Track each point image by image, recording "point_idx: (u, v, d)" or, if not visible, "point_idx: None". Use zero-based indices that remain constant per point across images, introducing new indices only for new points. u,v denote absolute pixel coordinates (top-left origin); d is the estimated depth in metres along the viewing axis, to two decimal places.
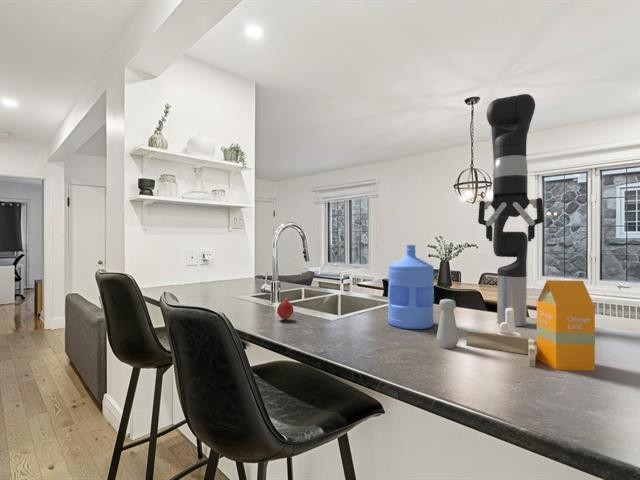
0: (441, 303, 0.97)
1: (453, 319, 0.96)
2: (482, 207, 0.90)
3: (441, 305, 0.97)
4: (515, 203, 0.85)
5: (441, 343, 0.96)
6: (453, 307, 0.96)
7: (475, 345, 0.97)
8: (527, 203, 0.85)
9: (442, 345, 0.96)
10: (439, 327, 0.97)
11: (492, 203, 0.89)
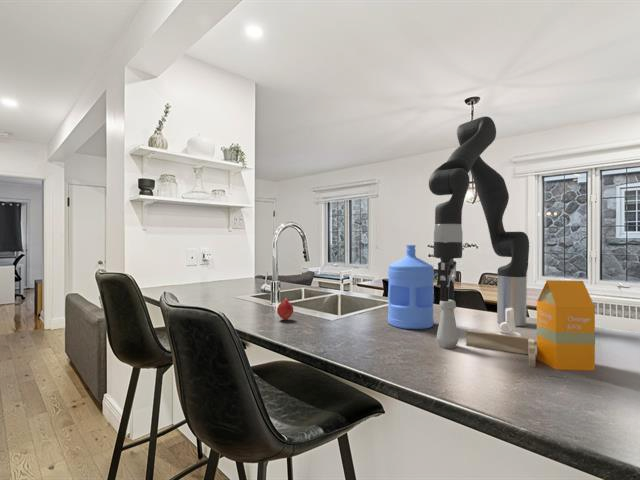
0: (441, 303, 0.97)
1: (453, 319, 0.96)
2: (448, 269, 0.92)
3: (441, 305, 0.97)
4: (455, 266, 0.98)
5: (441, 343, 0.96)
6: (453, 307, 0.96)
7: (475, 345, 0.97)
8: None
9: (442, 345, 0.96)
10: (439, 327, 0.97)
11: (448, 265, 0.94)
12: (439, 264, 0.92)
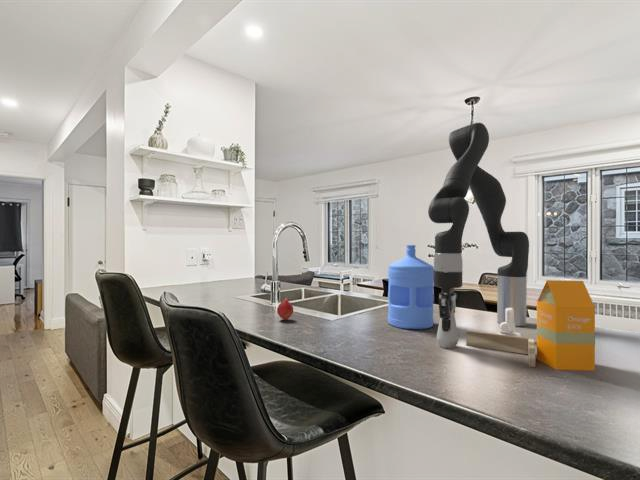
0: None
1: (453, 319, 0.96)
2: (448, 304, 0.92)
3: None
4: (455, 294, 0.98)
5: (441, 343, 0.96)
6: (453, 307, 0.96)
7: (475, 345, 0.97)
8: None
9: (442, 345, 0.96)
10: (439, 327, 0.97)
11: (449, 296, 0.94)
12: (439, 301, 0.92)
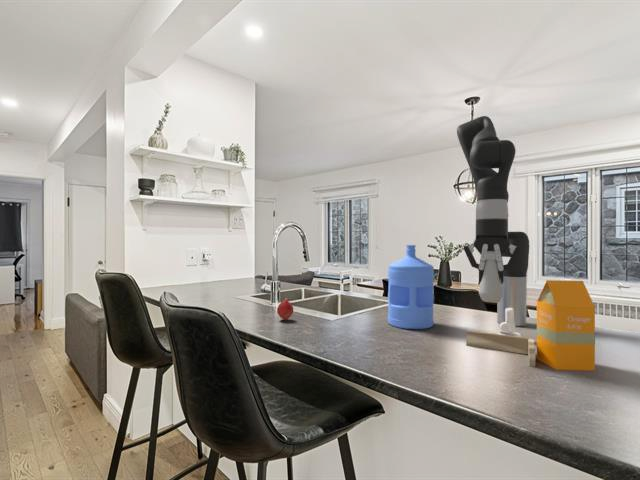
0: None
1: None
2: None
3: None
4: None
5: (499, 297, 0.88)
6: None
7: (475, 345, 0.97)
8: None
9: (499, 299, 0.89)
10: (496, 281, 0.88)
11: None
12: (520, 250, 0.86)
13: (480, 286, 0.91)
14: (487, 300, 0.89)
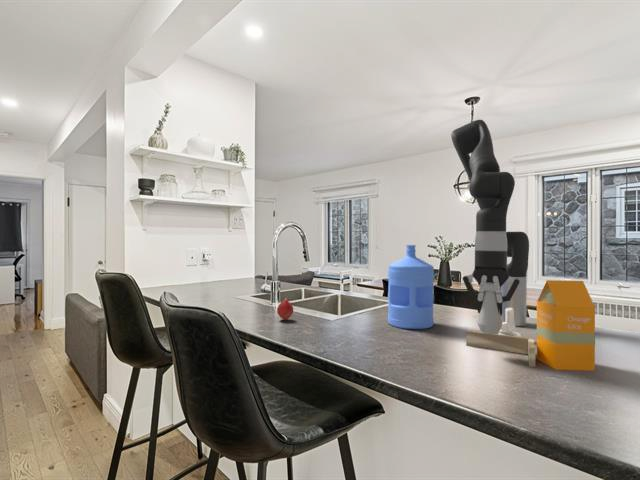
0: None
1: None
2: None
3: None
4: None
5: (498, 329, 0.88)
6: None
7: (475, 345, 0.97)
8: None
9: (498, 331, 0.89)
10: (495, 313, 0.88)
11: None
12: (519, 282, 0.86)
13: (479, 317, 0.91)
14: (486, 332, 0.89)
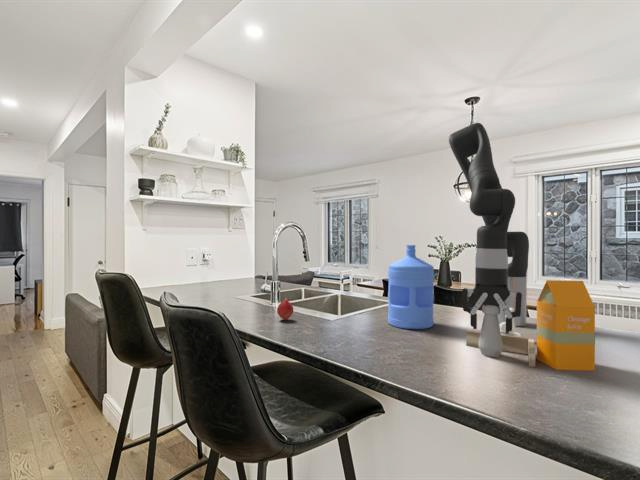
0: (497, 309, 0.88)
1: None
2: None
3: (497, 311, 0.88)
4: None
5: (499, 352, 0.88)
6: None
7: (475, 345, 0.97)
8: None
9: (499, 354, 0.88)
10: (496, 336, 0.88)
11: None
12: (521, 295, 0.86)
13: (480, 340, 0.90)
14: (487, 355, 0.89)
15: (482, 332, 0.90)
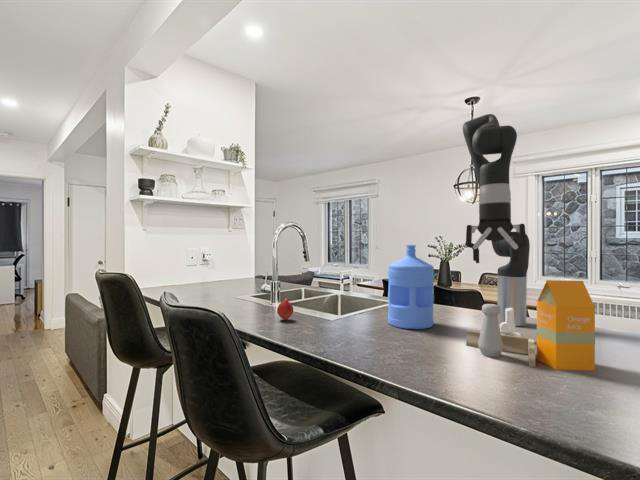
0: (497, 309, 0.88)
1: None
2: None
3: (497, 311, 0.88)
4: None
5: (499, 352, 0.88)
6: None
7: (475, 345, 0.97)
8: None
9: (499, 354, 0.88)
10: (496, 336, 0.88)
11: None
12: (524, 225, 0.89)
13: (480, 340, 0.90)
14: (487, 355, 0.89)
15: (482, 332, 0.90)
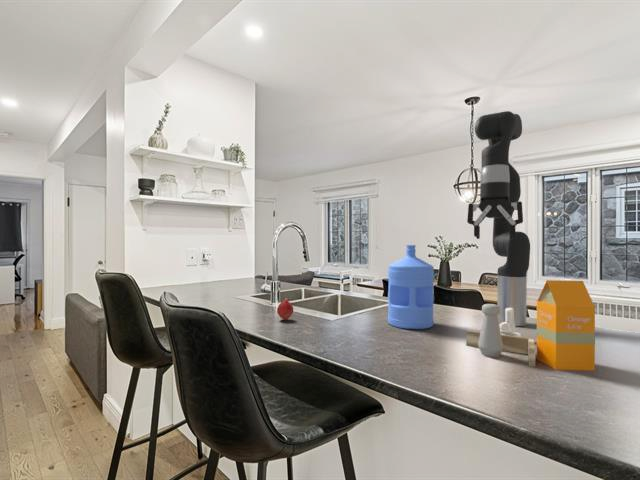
0: (497, 309, 0.88)
1: None
2: None
3: (497, 311, 0.88)
4: None
5: (499, 353, 0.88)
6: None
7: (475, 345, 0.97)
8: None
9: (499, 354, 0.88)
10: (496, 336, 0.88)
11: None
12: (521, 203, 0.97)
13: (480, 340, 0.90)
14: (487, 355, 0.89)
15: (482, 332, 0.90)
